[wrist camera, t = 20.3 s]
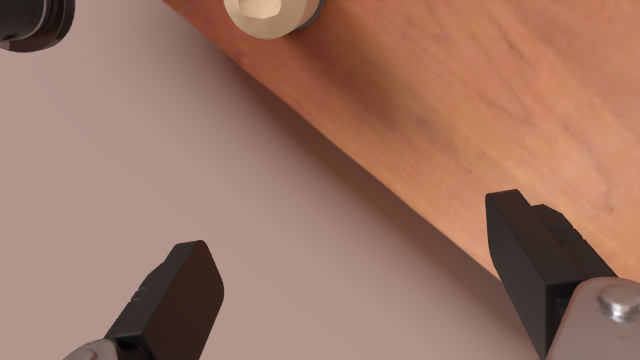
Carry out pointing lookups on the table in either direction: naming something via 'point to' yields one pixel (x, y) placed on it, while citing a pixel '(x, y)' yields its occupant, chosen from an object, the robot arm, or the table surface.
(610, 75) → the table surface
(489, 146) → the table surface
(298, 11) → the candle
